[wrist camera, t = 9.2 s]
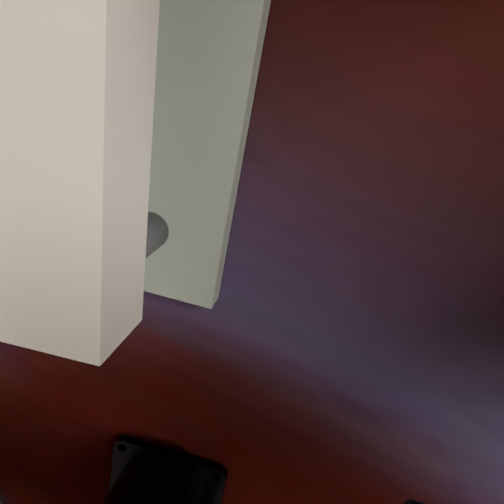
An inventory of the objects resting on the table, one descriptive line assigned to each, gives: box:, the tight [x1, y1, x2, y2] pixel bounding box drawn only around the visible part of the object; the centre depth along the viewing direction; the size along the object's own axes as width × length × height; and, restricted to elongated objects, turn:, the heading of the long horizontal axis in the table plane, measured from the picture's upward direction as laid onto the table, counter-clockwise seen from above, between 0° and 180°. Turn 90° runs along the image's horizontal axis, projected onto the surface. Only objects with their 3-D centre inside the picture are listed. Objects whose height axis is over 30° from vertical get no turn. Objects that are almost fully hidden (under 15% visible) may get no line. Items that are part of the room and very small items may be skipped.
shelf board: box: [0, 0, 160, 366], centre depth 13 cm, size 16×6×3 cm, turn 172°
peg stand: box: [144, 0, 271, 309], centre depth 16 cm, size 18×10×5 cm, turn 169°
